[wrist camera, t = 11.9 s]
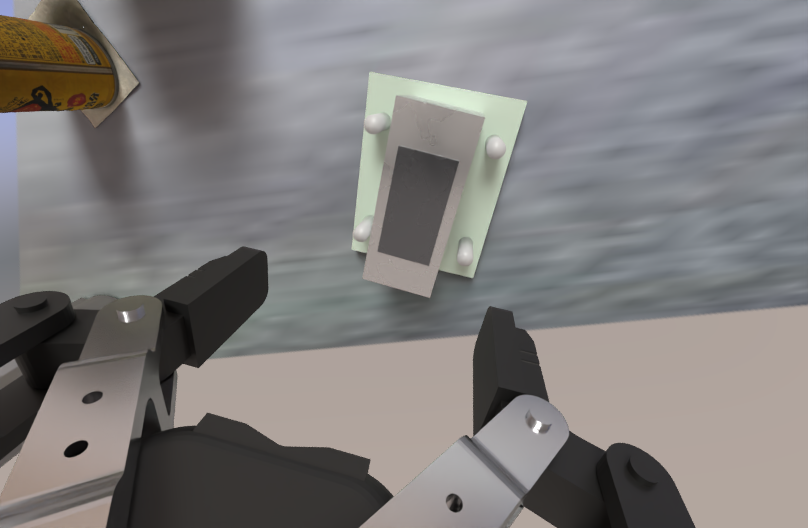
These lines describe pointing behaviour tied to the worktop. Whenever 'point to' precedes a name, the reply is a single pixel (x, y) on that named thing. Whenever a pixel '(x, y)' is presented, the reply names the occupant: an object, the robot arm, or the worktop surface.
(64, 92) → the condiment
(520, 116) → the pale green pegged board
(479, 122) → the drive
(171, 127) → the worktop surface
